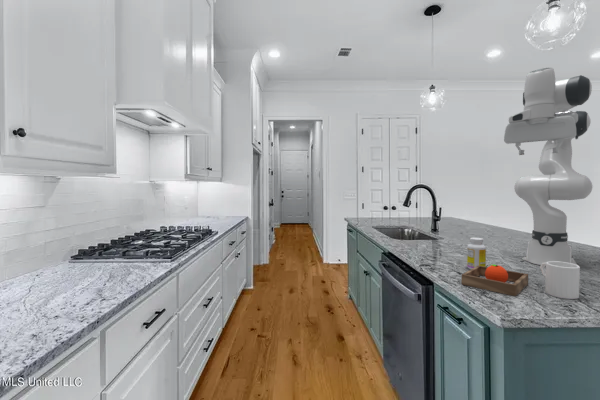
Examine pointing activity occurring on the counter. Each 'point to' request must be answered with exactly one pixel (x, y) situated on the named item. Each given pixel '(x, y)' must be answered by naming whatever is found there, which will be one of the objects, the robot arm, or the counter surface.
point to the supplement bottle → (476, 253)
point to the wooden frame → (501, 287)
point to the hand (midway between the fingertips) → (537, 153)
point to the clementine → (496, 273)
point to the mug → (561, 279)
